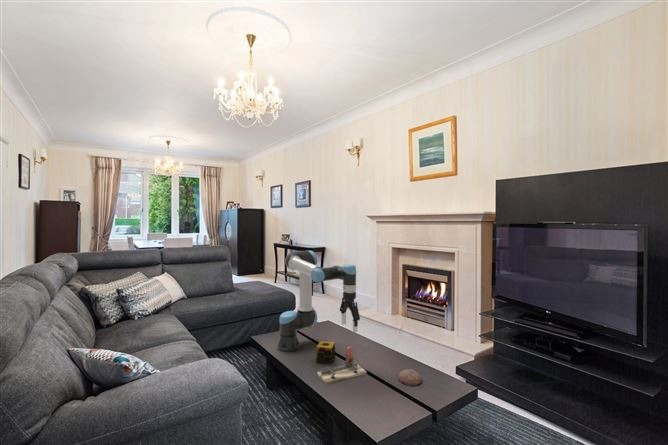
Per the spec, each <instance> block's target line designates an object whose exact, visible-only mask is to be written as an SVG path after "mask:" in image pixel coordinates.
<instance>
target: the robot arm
mask: <svg viewBox="0 0 668 445" xmlns="http://www.w3.org/2000/svg"><path fill="white" fill-rule="evenodd" d="M284 264H285V266H286V267H287V268H288V269H289V270H291V271H298V272H299V306H298V307H297V311H296V310H287V311H284V312H282V313H281V314H280V315H279V336H278V341H277V343H276V344H277V345H276V346H277V348H276V349H277V350H278V351H281V352H293V351H296V350H298V349H300V346H301V345H300V340H299V336H298V331H299V330H304V329H308V328H311V327H314V326H315V325H316V324H317V322H318V314H317V311H316V310H315V308H314V307H313V304H312V303H313V290H312V289H313V288H312V287H313V286H312V285H313V283H321V282H326V281H327V282H329V281H333V280H342V291H343V292H342V298H341V303H340V307H339V312H340V314H341V325H342V326H344V325H347V310H348V309H349V311H350V312H351V313H350V314H351V315H352V333H357V332H358V331H359V330H358V326H359V325H358V323H359V322H358V321H360V320H361V317H360V312H359V308H358V302H357V301H355V299H356V298H357V292H356V291H357V267H356V265H355V264H344V265H343V266H341V265H331V266H330V267H321V266H319V265H318V257H317V255H316V253H315V252H314V251H313V250H297V251H291V252H289V253H288V254H287V255H286V256H285V258H284Z"/></svg>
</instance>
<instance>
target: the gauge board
mask: <svg viewBox="0 0 668 445" xmlns="http://www.w3.org/2000/svg"><path fill="white" fill-rule="evenodd" d="M356 367H357V370H356V372H355V369H354V368H353V367H351V368H347V369H343V370H339V371H335V372H334V373H335V375H334V378H332V374H331V373H326V374H321V370H320V371H317V376H318V377H319V378H320V379H321V380H322V381H323V383H325V384H326V385H328V384H331V383H336V382H340V381H344V380H347V379H351V378H354V377H359V376H362V375H363V376H364V375H367V373H368V372H367V370H366V369H364V368H363V367H362V366H360V365H359V364H358V366H356Z"/></svg>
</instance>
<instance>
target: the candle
mask: <svg viewBox="0 0 668 445" xmlns="http://www.w3.org/2000/svg"><path fill="white" fill-rule="evenodd" d="M315 348H316V359H315V361H316V362H315V363H316V364H322V365H323V364H328V365H333V364H334V361H335V359H336V342H335V341H328V340H327V341H325V340H320V341H319V342H318V344H317V345H316V347H315Z"/></svg>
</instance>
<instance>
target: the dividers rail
mask: <svg viewBox="0 0 668 445" xmlns="http://www.w3.org/2000/svg"><path fill="white" fill-rule="evenodd" d="M358 365H359V364H358V362H354V366H358ZM351 367H352V366H351V365H349V366H347V365H346V364H342V365H340V366H339V365H338V366H334V367H331V368H330V366H326V367H325V369H322V370H320V371H321V374H326V373H331V374H332V378H334V375H335V373H334V372H335V371H339V370H343V369H347V368H351Z"/></svg>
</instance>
